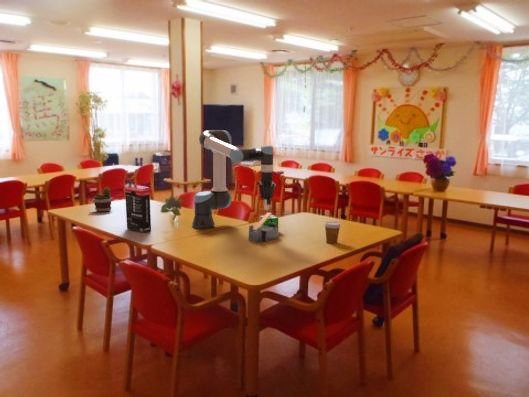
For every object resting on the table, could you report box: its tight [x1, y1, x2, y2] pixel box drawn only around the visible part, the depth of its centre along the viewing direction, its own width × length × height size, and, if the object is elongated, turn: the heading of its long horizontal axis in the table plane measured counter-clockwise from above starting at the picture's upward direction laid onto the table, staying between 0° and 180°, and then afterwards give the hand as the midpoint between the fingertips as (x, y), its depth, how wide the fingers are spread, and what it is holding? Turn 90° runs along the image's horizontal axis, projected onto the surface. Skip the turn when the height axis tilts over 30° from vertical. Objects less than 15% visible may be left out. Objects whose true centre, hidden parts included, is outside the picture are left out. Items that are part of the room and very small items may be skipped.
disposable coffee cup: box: [324, 221, 342, 245], centre depth 272 cm, size 10×10×12 cm
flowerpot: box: [92, 186, 114, 213], centre depth 351 cm, size 14×15×20 cm
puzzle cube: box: [258, 214, 279, 229], centre depth 296 cm, size 10×10×10 cm
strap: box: [251, 212, 273, 232], centre depth 277 cm, size 5×17×2 cm
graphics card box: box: [124, 187, 152, 233], centre depth 293 cm, size 17×7×27 cm, turn 56°
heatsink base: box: [248, 222, 279, 244], centre depth 279 cm, size 12×19×9 cm, turn 142°
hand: (266, 209), depth 279 cm, fingers closed
